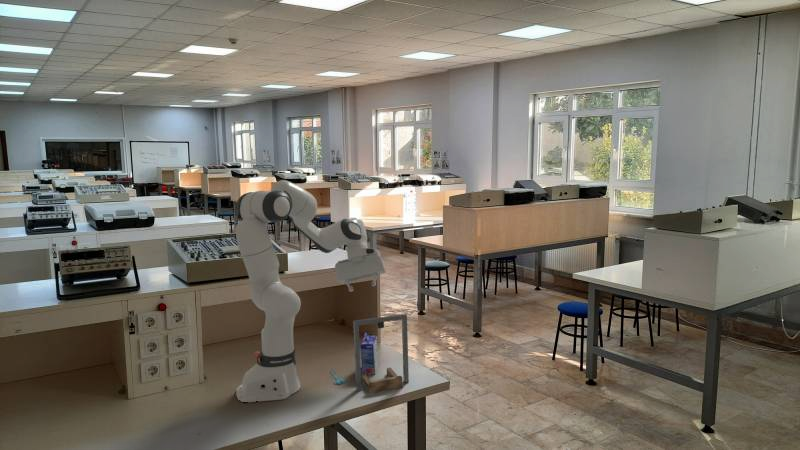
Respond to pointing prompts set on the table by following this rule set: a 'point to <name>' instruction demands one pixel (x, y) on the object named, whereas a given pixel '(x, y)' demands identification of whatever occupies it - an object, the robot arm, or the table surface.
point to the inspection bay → (382, 382)
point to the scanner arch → (380, 324)
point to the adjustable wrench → (338, 379)
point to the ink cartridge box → (369, 354)
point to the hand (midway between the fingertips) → (362, 288)
